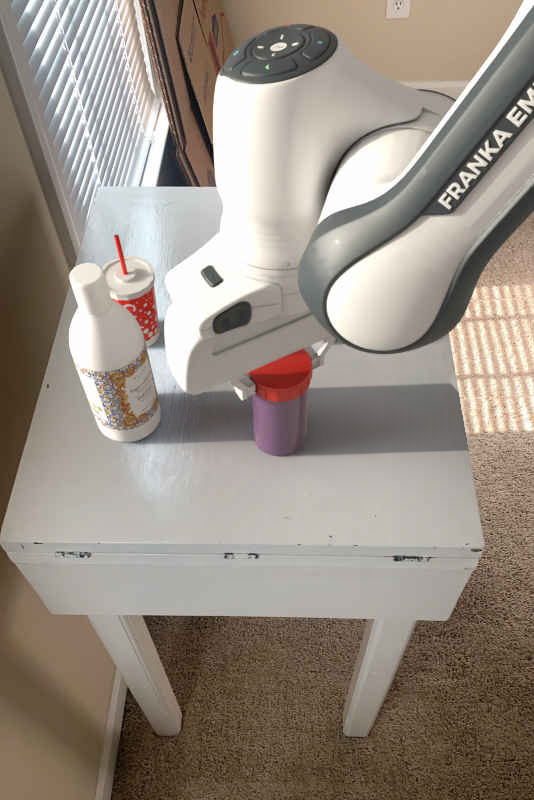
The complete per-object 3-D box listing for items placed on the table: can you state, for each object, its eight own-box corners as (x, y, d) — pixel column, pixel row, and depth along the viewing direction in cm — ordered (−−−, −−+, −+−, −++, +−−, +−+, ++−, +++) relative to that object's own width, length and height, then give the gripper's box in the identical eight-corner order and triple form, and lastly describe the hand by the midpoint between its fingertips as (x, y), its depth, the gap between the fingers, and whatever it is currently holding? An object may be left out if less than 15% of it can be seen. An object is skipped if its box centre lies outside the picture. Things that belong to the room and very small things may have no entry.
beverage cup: (103, 339, 81) (73, 241, 69) (138, 309, 84) (114, 209, 72) (142, 361, 79) (118, 264, 67) (176, 329, 82) (159, 231, 70)
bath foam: (134, 455, 72) (89, 314, 55) (84, 426, 74) (27, 282, 57) (175, 411, 75) (144, 264, 58) (126, 384, 77) (83, 236, 60)
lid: (290, 345, 67) (291, 331, 66) (323, 386, 65) (324, 373, 63) (236, 369, 66) (235, 355, 64) (267, 412, 63) (266, 399, 61)
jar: (289, 406, 75) (290, 337, 66) (316, 442, 72) (320, 376, 63) (244, 427, 74) (238, 359, 65) (269, 464, 71) (268, 399, 62)
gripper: (367, 198, 58) (352, 318, 69) (145, 282, 53) (169, 397, 64) (411, 240, 55) (388, 358, 66) (180, 334, 50) (199, 444, 61)
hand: (279, 378), depth 65 cm, fingers closed on lid, 6 cm apart
